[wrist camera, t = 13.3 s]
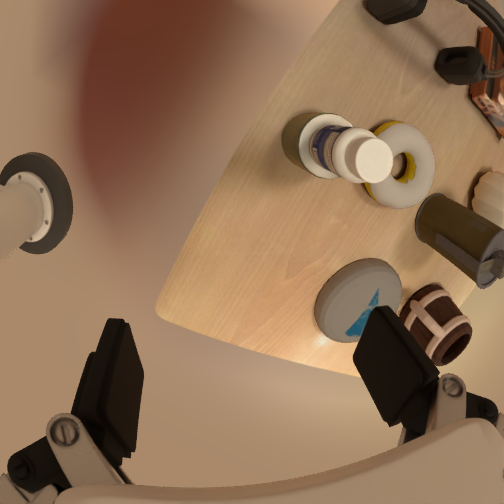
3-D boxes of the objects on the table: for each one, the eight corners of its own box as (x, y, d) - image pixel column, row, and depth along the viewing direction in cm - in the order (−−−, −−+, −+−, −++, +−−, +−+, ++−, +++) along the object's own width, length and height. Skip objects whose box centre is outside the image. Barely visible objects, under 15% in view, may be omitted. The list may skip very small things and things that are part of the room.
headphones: (457, 65, 30) (539, 71, 13) (450, 88, 33) (536, 100, 15) (370, -13, 24) (450, -51, 6) (359, 8, 26) (445, -31, 8)
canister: (452, 191, 43) (527, 232, 25) (445, 238, 47) (510, 288, 30) (415, 195, 42) (499, 244, 24) (410, 247, 47) (478, 307, 29)
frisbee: (408, 260, 48) (422, 273, 44) (376, 331, 56) (386, 346, 52) (329, 255, 45) (341, 270, 40) (303, 337, 53) (310, 354, 48)
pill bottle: (356, 133, 29) (406, 144, 20) (342, 174, 31) (388, 198, 22) (316, 117, 27) (359, 120, 19) (302, 161, 30) (339, 180, 21)
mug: (450, 296, 56) (484, 331, 43) (412, 338, 61) (440, 378, 48) (421, 262, 49) (467, 303, 36) (375, 315, 54) (410, 364, 40)
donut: (431, 170, 40) (449, 177, 36) (383, 219, 43) (399, 231, 39) (395, 105, 34) (414, 106, 30) (338, 157, 37) (354, 163, 33)
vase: (468, 166, 40) (516, 186, 29) (498, 167, 41) (539, 185, 30) (460, 227, 47) (502, 255, 35) (490, 220, 48) (527, 244, 36)
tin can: (270, 147, 35) (284, 154, 29) (302, 102, 33) (323, 99, 26) (315, 178, 38) (336, 192, 32) (344, 136, 36) (371, 141, 29)
